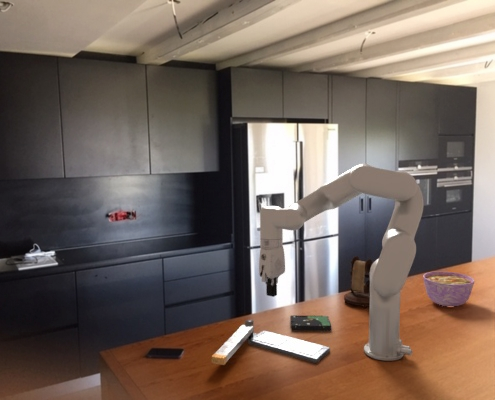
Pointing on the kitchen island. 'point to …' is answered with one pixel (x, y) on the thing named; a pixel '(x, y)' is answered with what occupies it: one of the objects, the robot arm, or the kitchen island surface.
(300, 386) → the kitchen island surface
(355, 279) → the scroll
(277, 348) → the label panel
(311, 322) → the disk drive
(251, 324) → the swing bar
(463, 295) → the bowl of food
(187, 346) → the kitchen island surface
